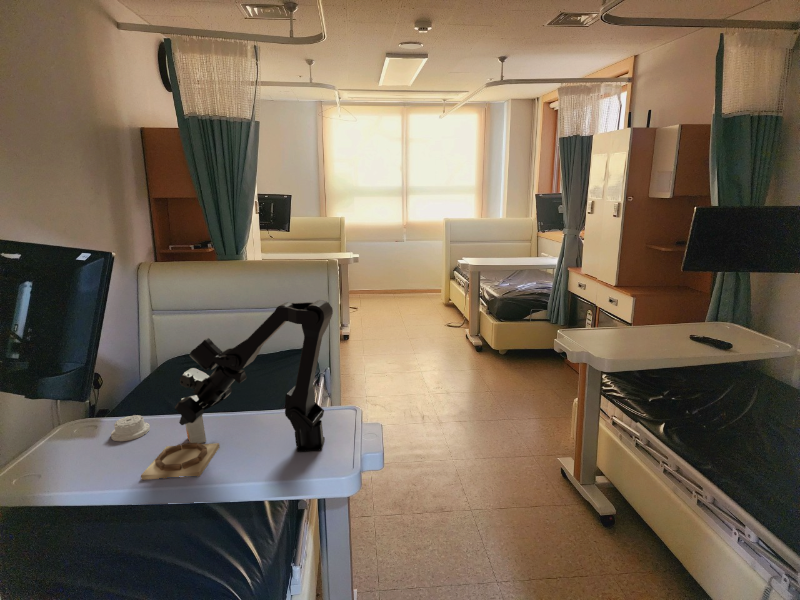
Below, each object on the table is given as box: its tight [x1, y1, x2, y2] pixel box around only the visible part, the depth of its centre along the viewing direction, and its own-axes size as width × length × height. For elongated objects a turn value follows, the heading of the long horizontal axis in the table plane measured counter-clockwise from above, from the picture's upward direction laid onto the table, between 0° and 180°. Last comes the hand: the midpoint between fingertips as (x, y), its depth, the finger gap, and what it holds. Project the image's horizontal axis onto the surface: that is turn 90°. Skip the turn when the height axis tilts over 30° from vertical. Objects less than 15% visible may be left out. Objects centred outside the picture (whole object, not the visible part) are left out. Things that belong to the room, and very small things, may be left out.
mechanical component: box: [110, 414, 151, 442], centre depth 144 cm, size 10×4×10 cm
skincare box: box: [180, 394, 207, 444], centre depth 137 cm, size 6×4×12 cm
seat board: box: [140, 442, 220, 481], centre depth 126 cm, size 14×14×2 cm
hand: (189, 417), depth 137 cm, fingers closed on skincare box, 7 cm apart
